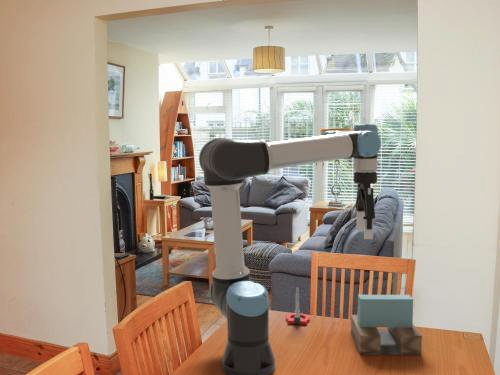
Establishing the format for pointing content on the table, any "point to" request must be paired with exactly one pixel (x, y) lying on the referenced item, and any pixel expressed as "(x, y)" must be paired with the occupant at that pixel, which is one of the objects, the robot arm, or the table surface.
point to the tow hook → (297, 314)
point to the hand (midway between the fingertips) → (364, 234)
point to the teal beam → (385, 310)
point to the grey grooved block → (386, 339)
